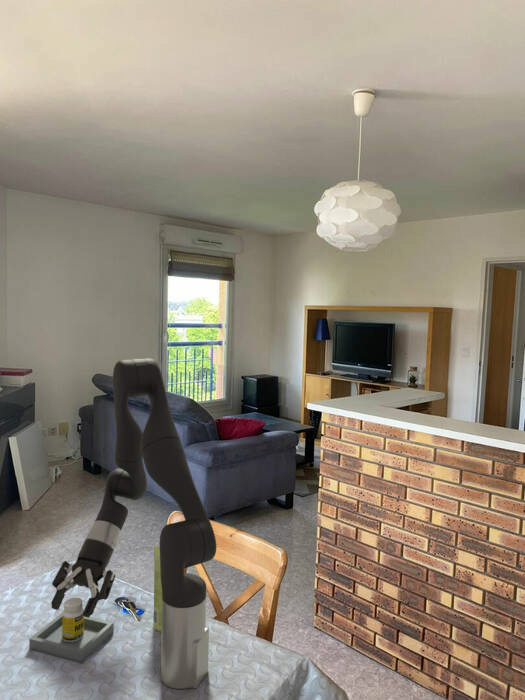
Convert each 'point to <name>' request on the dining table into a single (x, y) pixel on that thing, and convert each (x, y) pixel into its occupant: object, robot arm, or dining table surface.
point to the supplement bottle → (72, 620)
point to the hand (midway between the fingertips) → (69, 612)
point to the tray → (77, 651)
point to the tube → (157, 591)
